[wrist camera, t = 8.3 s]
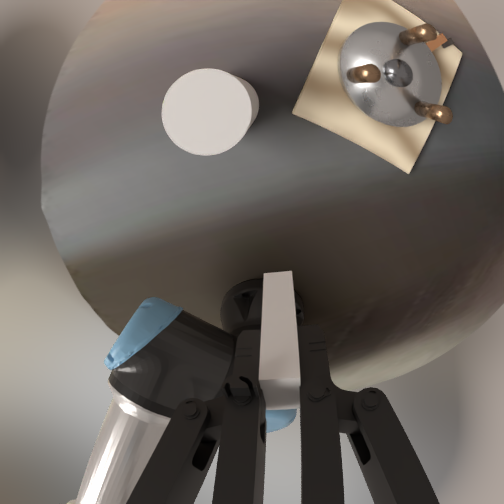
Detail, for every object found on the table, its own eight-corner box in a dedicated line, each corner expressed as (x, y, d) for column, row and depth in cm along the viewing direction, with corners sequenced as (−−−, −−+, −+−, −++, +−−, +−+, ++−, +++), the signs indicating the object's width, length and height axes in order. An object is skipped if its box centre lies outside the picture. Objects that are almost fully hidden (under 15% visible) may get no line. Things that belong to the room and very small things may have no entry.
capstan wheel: (466, 79, 23) (500, 83, 16) (385, 145, 30) (410, 160, 24) (407, -3, 18) (434, -17, 11) (313, 61, 26) (324, 52, 19)
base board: (404, 170, 34) (409, 174, 32) (291, 112, 31) (292, 113, 30) (458, 50, 21) (464, 50, 20) (351, -20, 19) (355, -24, 18)
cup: (238, 64, 28) (221, 52, 18) (270, 116, 32) (268, 127, 22) (185, 97, 31) (146, 102, 21) (216, 145, 34) (192, 170, 24)
